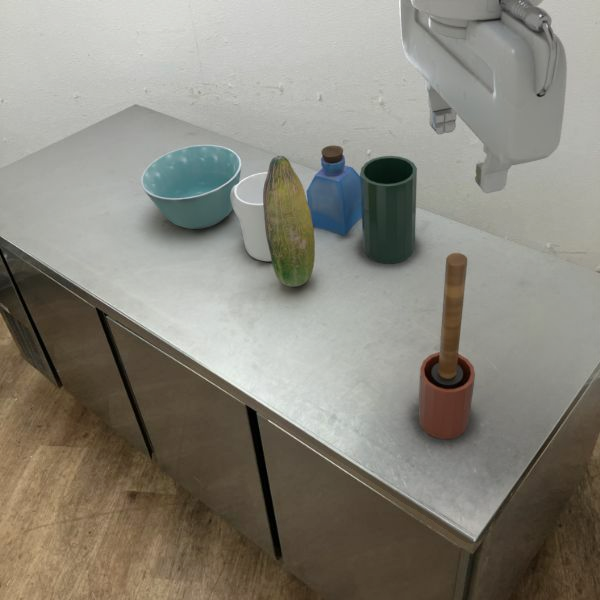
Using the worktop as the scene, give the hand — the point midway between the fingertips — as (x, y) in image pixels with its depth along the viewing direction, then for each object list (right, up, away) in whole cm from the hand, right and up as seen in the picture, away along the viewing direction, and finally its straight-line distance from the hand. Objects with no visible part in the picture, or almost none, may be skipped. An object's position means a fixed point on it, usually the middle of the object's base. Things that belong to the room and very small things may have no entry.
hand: (464, 156), depth 52 cm
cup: (0, -4, +43) cm, 43 cm away
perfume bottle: (-7, +1, +49) cm, 50 cm away
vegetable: (-13, -10, +39) cm, 42 cm away
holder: (+3, -25, +20) cm, 32 cm away
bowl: (-29, +3, +54) cm, 62 cm away
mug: (-18, -3, +47) cm, 51 cm away
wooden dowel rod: (+3, -24, +19) cm, 31 cm away
